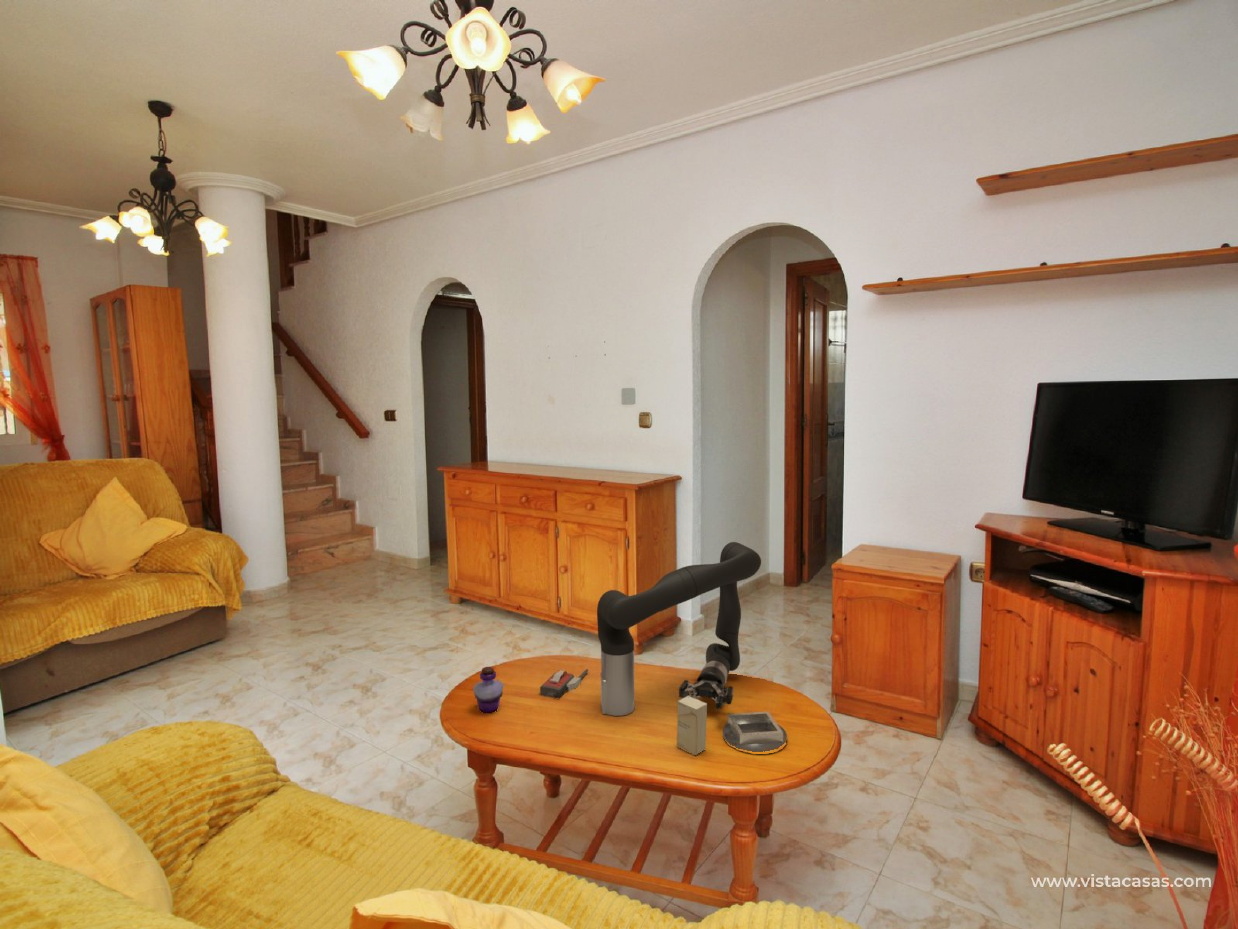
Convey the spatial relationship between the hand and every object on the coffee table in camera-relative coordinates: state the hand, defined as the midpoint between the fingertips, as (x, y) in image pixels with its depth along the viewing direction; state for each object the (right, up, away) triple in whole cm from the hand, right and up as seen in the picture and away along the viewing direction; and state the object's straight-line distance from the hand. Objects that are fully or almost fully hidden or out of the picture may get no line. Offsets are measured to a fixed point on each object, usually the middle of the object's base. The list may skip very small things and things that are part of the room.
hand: (700, 704), depth 173 cm
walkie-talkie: (-38, -5, +27) cm, 47 cm away
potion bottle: (-58, -6, +12) cm, 60 cm away
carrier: (+13, -7, -5) cm, 16 cm away
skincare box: (-3, -8, -10) cm, 13 cm away
